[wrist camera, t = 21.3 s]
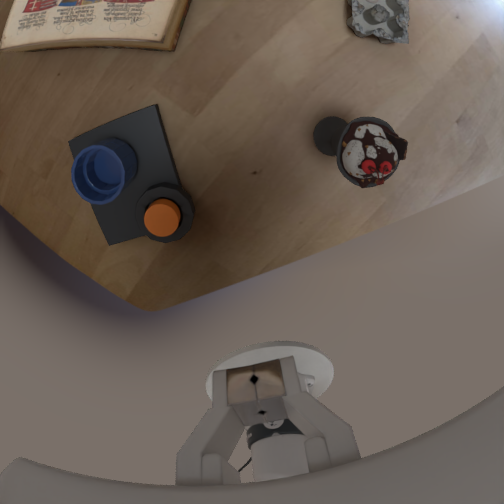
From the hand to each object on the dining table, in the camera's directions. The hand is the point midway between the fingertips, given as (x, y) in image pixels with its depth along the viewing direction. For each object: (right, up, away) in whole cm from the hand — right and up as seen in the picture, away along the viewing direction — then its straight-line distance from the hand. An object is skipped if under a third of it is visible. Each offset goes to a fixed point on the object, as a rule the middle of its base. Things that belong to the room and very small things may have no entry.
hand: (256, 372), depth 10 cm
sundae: (+9, +18, +22) cm, 30 cm away
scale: (-15, +13, +22) cm, 30 cm away
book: (-17, +41, +6) cm, 44 cm away
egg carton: (+15, +35, +13) cm, 40 cm away
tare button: (-10, +9, +22) cm, 26 cm away
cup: (-16, +15, +20) cm, 30 cm away
